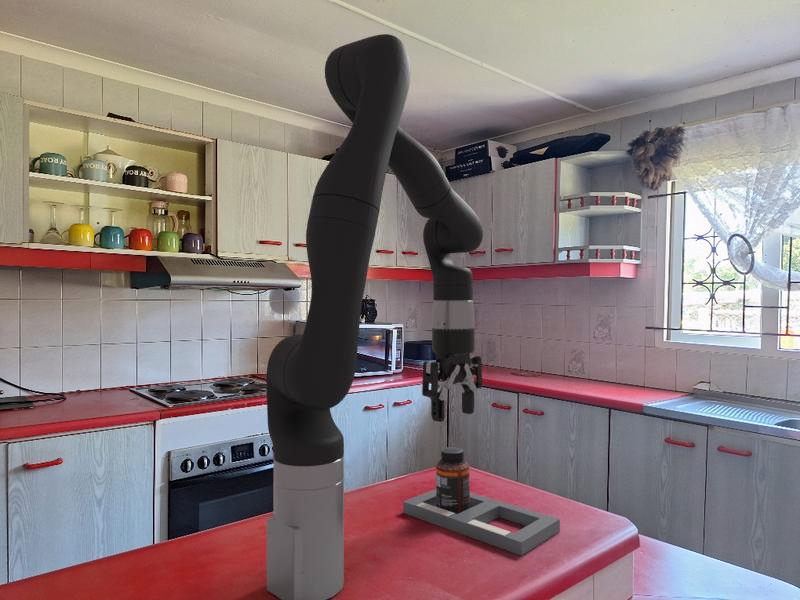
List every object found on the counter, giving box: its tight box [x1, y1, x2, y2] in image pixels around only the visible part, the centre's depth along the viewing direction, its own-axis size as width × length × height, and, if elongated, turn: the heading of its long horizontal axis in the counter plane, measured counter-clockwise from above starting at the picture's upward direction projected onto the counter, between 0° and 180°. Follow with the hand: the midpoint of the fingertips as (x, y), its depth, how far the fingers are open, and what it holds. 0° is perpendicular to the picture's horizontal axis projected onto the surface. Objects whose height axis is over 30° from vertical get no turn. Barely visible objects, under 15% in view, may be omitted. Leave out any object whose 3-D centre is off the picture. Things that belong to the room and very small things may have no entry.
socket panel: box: [402, 488, 561, 556], centre depth 95 cm, size 12×24×2 cm, turn 47°
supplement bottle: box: [435, 446, 471, 514], centre depth 98 cm, size 6×6×11 cm
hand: (453, 417), depth 98 cm, fingers open, 8 cm apart
